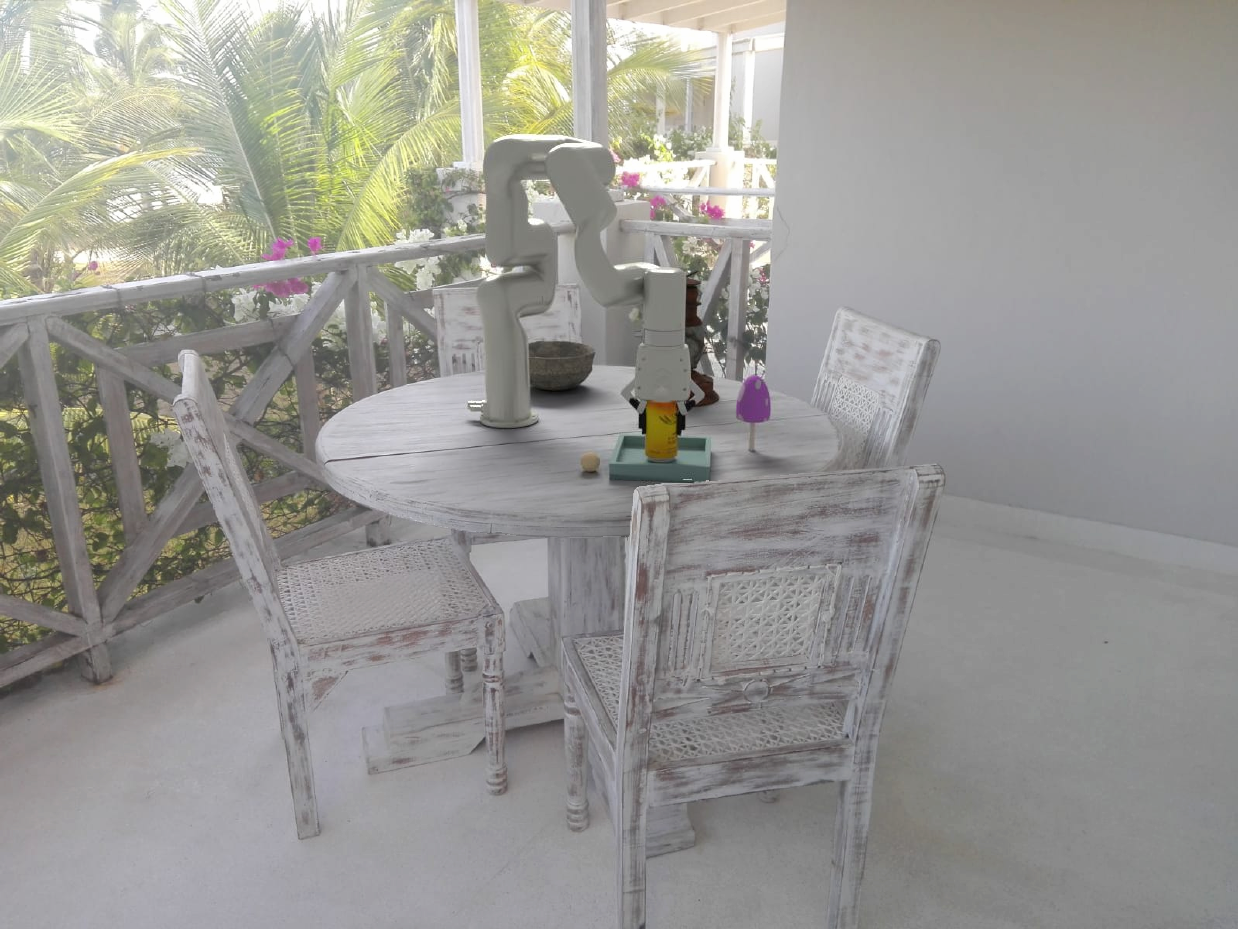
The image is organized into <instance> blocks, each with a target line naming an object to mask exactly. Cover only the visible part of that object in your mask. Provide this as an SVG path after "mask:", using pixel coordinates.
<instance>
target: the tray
mask: <svg viewBox="0 0 1238 929" xmlns="http://www.w3.org/2000/svg"><path fill="white" fill-rule="evenodd" d="M711 451H712V436H693V435H686V436H685V435H681V436H678V449H677V456H676V457H675V458H674V460H672V461H669V462H654V461H651V460H649V459H648V457H647V456H646V455H645V435H642V434H633V433H632V434H629V433H627V434H625V433H623V434H622V433H620V434H619V435H618V437H617V441H616V443H615V447H614V449H613V452H612V454H611V457H610V458H611V459H610V460H609V463H608V464H609V469H608V470H609V472H608V473H609V474H608V475H609V478H608V479H609V480H617V479H621V480H622V481H646V482H647V481H649V482H650V481H651V482H665V481H664V480H668V481H667V482H677V483H678V482H679V483H680V482H682V483H693V482H692V481H706V480H710V478H711V477H710V476H711V474H710V473H711V454H712V452H711ZM683 479H692V480H683ZM621 480H620V481H621Z"/></svg>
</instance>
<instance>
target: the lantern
mask: <svg viewBox="0 0 1238 929" xmlns="http://www.w3.org/2000/svg"><path fill="white" fill-rule="evenodd" d="M698 272H699V270H696V271H693V272H691V273H689V274H687V275H686V274H685V275H686V306H685V342H684V344H687V345H688V348H689V355H690V368H691V379H692V380H693V381H694V383H695V384H696V385H697V386H698V387H699V388H700V389H701V390H702V391H703V392H704V394H705V395H704V398H703V399H702V400H701V401H699V402H698V403H697V404H696V405H695V406H694V407H693V408H699V407H704V406H705V407H706V406H709V405H712V404H713V405H714V404H715V403H717V402H718V401H719V400H720V395H719V393H718V392H716V391H715V390H714V378H713V377H712V376H710V375H708V374H706V373H701V372H699V371H698V370H697V368H698V364H699V362H700V361H701V358H702V356H703V355H704V354H707V353H708V352H709V350H708V347H707V346H708V344H705V337H706V338H708V336H707V333H706V331H705V328H704V325H703V321H702V319H701V318H700V316H698V307H699V306H700V307H701V305H702V302H701V301H697V299H698V297H699V296H698V295H699V290H698V285H701V281H700V280H698V279H694V278H690V277H692V276H694V275H696V274H697V273H698ZM704 347H705V349H704ZM694 396H695V394H694V393H693V392H692V391H691V390H690V396H689V398H688V399H687V400H685V402H686V403H687V402H688V401H689V400H690V399H691V398H693V397H694Z"/></svg>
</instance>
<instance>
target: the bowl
mask: <svg viewBox="0 0 1238 929" xmlns="http://www.w3.org/2000/svg"><path fill="white" fill-rule="evenodd" d="M528 343H529V342H528ZM596 351H597V350H596V349H595V348H594V347H593V346H590V345H589V344H585V343H580V342H577V341H576V342H573V341H568V340H537V341H535V342H530V343H529V368H530V386H532V387H534V388H537V389H542V390H546V391H547V390H548V391H564V390H566V391H567V390H571V389H573V388H575V387H579V385H581V384H582V383H584V382H585V381H586V380H587V378H588V377H589V376H590V375H591V373H592V372H593V364H594V363H593V362H594V358H595V355H596Z"/></svg>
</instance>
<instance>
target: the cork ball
mask: <svg viewBox="0 0 1238 929" xmlns="http://www.w3.org/2000/svg"><path fill="white" fill-rule="evenodd" d="M600 465H601V458H600V457H599V456H598V455H597V453H595V452H592V451H590V452H586V453H584V454H583V455H582V456H581V458H580V466H581V468H582V469H583V470H584V471H586V472H588V473H590V472H595V471H596V470H598V468H599V467H600Z"/></svg>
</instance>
